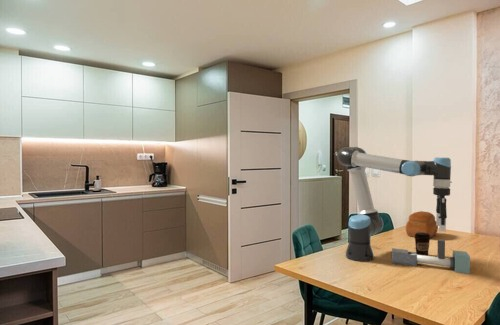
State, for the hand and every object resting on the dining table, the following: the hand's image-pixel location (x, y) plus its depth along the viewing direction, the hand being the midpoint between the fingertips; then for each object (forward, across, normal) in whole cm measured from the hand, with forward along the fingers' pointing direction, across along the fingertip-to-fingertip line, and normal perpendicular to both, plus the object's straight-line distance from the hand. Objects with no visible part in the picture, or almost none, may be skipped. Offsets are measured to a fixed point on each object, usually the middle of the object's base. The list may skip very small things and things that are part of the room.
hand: (440, 228), depth 166 cm
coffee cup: (+21, +19, +7) cm, 29 cm away
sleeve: (+21, 0, +17) cm, 27 cm away
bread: (+21, +73, +4) cm, 76 cm away
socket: (+20, 0, -9) cm, 22 cm away
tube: (+20, 0, +2) cm, 21 cm away
